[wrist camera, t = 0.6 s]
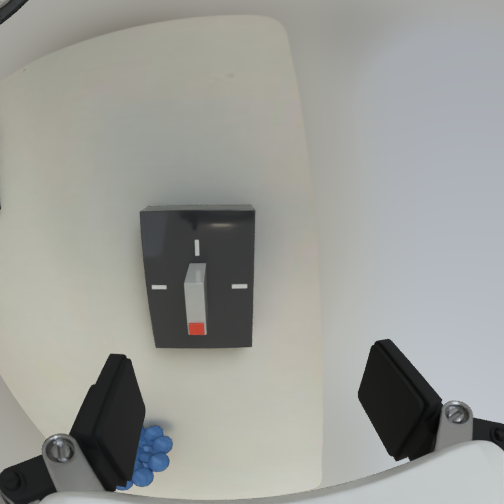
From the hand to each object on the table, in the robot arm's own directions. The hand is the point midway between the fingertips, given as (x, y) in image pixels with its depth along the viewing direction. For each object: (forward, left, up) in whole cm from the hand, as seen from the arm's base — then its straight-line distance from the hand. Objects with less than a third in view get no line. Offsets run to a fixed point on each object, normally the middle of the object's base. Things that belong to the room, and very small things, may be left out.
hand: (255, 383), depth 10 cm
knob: (+3, -3, -16) cm, 17 cm away
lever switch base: (+3, -3, -19) cm, 20 cm away
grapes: (+29, -14, -19) cm, 38 cm away
